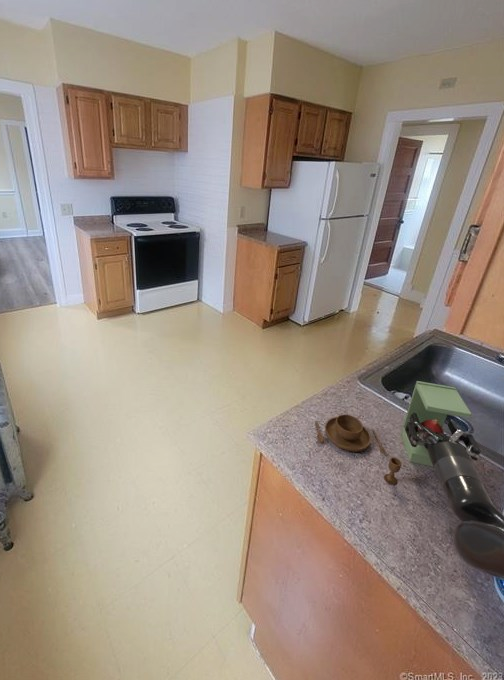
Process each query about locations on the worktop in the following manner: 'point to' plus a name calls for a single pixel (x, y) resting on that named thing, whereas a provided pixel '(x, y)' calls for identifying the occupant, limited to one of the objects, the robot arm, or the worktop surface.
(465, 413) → the shelf
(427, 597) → the worktop surface
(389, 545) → the worktop surface
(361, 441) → the place setting
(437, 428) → the onion
